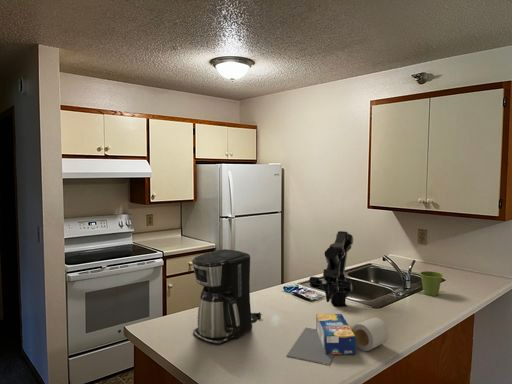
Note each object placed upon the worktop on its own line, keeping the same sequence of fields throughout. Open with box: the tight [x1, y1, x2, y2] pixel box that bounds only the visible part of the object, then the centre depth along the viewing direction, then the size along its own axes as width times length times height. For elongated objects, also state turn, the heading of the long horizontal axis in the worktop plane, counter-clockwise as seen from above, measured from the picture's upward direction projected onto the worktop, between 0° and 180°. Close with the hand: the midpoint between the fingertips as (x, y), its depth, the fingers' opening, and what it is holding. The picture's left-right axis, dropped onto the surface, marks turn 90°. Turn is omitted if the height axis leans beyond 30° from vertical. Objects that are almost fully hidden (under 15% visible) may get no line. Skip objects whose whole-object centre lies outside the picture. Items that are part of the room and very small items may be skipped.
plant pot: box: [419, 270, 444, 297], centre depth 206 cm, size 12×12×11 cm
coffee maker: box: [192, 248, 263, 345], centre depth 163 cm, size 23×32×34 cm
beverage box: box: [315, 313, 356, 355], centre depth 152 cm, size 7×11×22 cm
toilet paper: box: [351, 317, 390, 352], centre depth 148 cm, size 10×10×10 cm
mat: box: [286, 327, 335, 366], centre depth 149 cm, size 26×16×1 cm, turn 157°
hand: (327, 301), depth 167 cm, fingers closed
